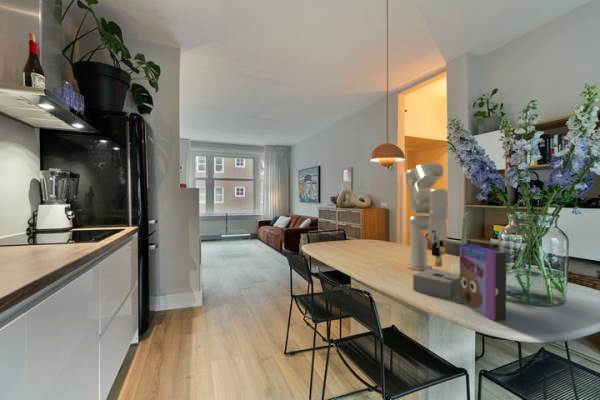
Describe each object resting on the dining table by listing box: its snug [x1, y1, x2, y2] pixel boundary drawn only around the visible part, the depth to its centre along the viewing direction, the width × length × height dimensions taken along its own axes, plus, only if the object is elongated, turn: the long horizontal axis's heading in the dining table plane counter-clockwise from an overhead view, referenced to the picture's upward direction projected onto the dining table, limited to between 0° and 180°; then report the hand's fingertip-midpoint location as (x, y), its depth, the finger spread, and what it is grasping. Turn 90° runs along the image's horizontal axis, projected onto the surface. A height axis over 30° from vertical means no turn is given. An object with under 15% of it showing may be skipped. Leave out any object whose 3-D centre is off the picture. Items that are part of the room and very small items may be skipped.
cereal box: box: [459, 243, 507, 322], centre depth 105 cm, size 17×5×24 cm, turn 5°
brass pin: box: [434, 246, 446, 268], centre depth 127 cm, size 5×5×9 cm
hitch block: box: [412, 268, 460, 300], centre depth 127 cm, size 16×16×7 cm
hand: (438, 254), depth 127 cm, fingers closed on brass pin, 5 cm apart
